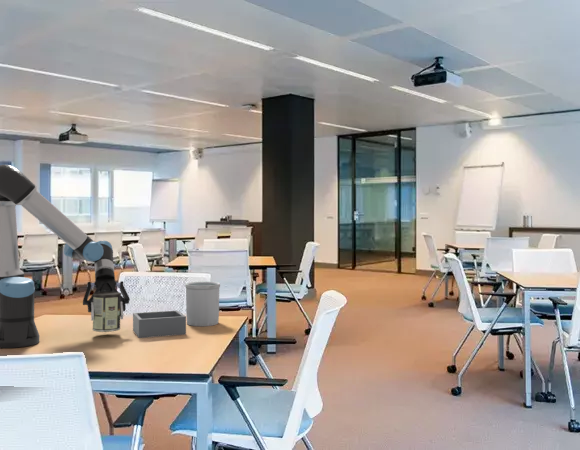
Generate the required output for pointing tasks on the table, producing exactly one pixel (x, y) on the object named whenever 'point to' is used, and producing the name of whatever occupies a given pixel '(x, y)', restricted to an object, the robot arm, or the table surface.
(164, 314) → the bin
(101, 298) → the coffee can
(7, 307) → the robot arm
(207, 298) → the utensil holder
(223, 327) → the table surface
